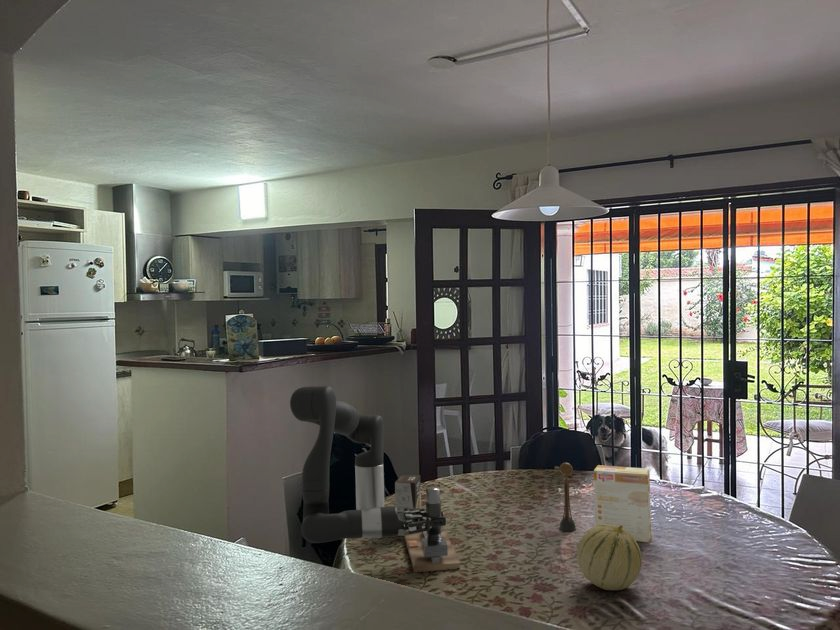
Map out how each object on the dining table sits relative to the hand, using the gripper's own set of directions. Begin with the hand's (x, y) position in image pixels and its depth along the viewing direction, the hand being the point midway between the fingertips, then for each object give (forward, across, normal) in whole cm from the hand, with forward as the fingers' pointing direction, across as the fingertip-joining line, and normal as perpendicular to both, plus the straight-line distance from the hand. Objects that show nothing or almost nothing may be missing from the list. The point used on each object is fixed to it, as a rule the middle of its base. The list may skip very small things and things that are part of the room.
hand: (443, 518), depth 165 cm
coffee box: (-7, +26, +12) cm, 29 cm away
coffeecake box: (+54, +10, +12) cm, 56 cm away
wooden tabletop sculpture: (+40, +19, +12) cm, 46 cm away
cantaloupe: (+36, -21, +12) cm, 44 cm away
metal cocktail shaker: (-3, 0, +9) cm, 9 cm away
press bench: (-3, +8, +12) cm, 15 cm away
